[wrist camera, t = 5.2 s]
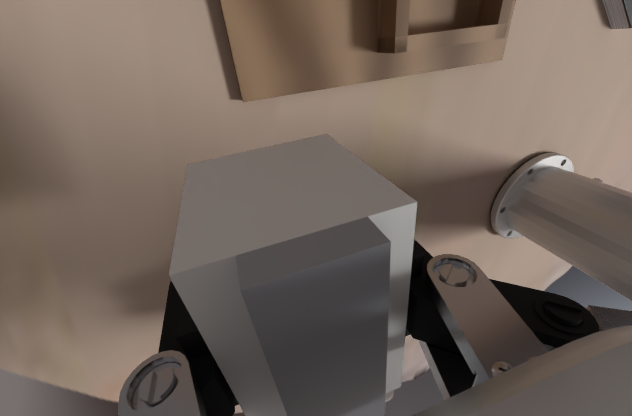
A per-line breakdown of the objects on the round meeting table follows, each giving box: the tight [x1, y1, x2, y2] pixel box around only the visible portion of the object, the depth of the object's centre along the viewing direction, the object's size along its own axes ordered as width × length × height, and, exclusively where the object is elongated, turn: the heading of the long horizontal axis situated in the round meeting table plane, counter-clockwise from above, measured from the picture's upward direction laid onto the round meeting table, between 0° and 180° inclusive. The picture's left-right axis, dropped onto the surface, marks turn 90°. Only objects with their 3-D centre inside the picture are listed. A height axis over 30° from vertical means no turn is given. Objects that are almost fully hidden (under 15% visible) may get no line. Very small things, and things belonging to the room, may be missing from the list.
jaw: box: [169, 134, 417, 416], centre depth 8 cm, size 4×7×6 cm, turn 6°
